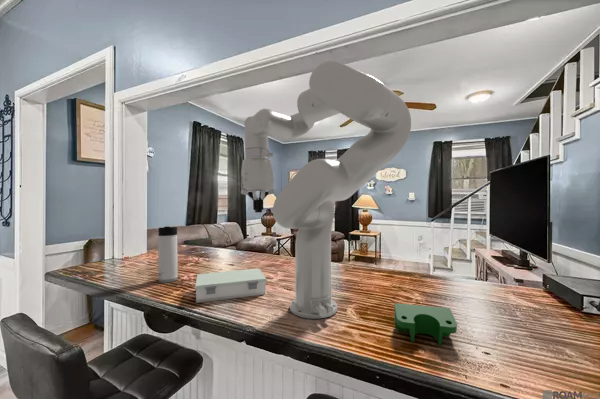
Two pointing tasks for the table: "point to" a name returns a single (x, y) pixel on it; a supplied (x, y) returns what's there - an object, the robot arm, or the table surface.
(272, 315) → the table surface
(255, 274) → the cover
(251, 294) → the white latched case
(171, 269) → the travel mug
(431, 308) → the clamp
